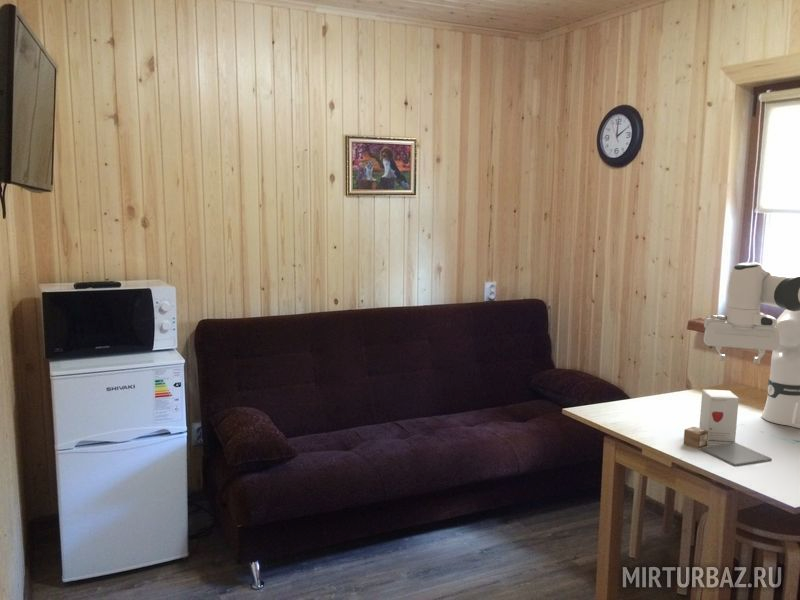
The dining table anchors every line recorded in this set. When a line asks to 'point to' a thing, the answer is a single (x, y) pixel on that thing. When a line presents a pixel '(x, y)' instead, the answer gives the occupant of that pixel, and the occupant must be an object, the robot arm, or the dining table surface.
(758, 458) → the coaster
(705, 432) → the letter cube
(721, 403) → the supplement box
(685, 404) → the dining table surface
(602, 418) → the dining table surface
